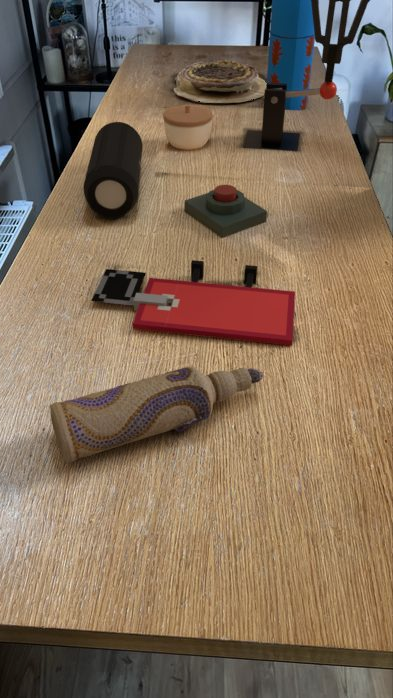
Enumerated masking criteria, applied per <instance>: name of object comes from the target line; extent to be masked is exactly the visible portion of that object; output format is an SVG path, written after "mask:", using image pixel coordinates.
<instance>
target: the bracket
mask: <svg viewBox="0 0 393 698" xmlns="http://www.w3.org/2000/svg"><path fill="white" fill-rule="evenodd" d="M273 88H282V90H280V89H273ZM286 91H287V84H282V83H267V84H266V89H265V93H264V95H263V96H264V97H263V111H262V123H261V124H262V126H261V130H254V129H248V130H247V133H246V135H245V138H244V142H243V145H242V148H243V149H258V150H272V151H273V150H274V151H287V152H288V151H289V152H298V151H299V145H300V138H301V133H300V132H290V131H289V132H288V131H284V127H285V126H284V125H285V117H286V116H285V114H286V113H285V112H286V110H285V105H286V98H285V96H286Z"/></svg>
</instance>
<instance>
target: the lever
mask: <svg viewBox="0 0 393 698" xmlns="http://www.w3.org/2000/svg"><path fill="white" fill-rule="evenodd" d="M273 89H280V90H282V88H273ZM337 93H338V87H337V84H336V83H335V82H334V81H332V82H329V81H328V82H325V81H324V82H323V83H321V85H320V87H318V88H317V87H316V88H309V89H305V90H295V91H286V96H285V98H288V97H298V96H308V97H309V96H317V95H318V96H320V97H321V98H322V99H323V100H326V101H327V100H331V99H333V98H334V97H336V94H337Z"/></svg>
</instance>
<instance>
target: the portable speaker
mask: <svg viewBox="0 0 393 698" xmlns="http://www.w3.org/2000/svg"><path fill="white" fill-rule="evenodd" d="M143 145H144V144H143V140H142V137H141V135H140V134H139V132H138V131H137V129H135V128H134V127H133V126H131V125H130V124H128V123H126V122H123V121H113V122H109V123H107V124H105V125H103V126H102V127H101V128H100V129H99V130H98V132H97V133H96V135H95V137H94V141H93V145H92V150H91V153H90V157H89V161H88V165H87V169H86V173H85V177H84V181H83V189H82V190H83V194H84V199H85V200H86V201H85V202H86V203H87V204H88V206H89V208H90V209H91V210H92V211H93V212H94V214H96V215H98V216H99V217H101V218H104V219H109V220H111V219H112V220H113V219H119V218H122V217H124V216H125V215H127V214H129V213H130V212H131V211H133V209H134V208H135V206H136V205H137V203H138V200H139V196H140V195H139V193H140V192H139V190H140V179H141V178H140V177H141V169H142V157H143V149H144V148H143V147H144V146H143Z"/></svg>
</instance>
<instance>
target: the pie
mask: <svg viewBox="0 0 393 698" xmlns="http://www.w3.org/2000/svg"><path fill="white" fill-rule="evenodd" d="M174 80H175V84H176V86H175V87H174V88H173V89H172V90H173V92H174V93H175V95H176V96H177V97H182V98H185V99H186V100H189V101H192V102H195V103H196V102H197V103H200V104H201V103H202V104H207V103H208V104H209V103H211V104H231V103H243V102H248V101H253V99H254V100H256V99H259V98H261V97H263V96H264V93H265V89H266V84H267V83H266V82H267V81H266V80H264V79H263V78H261V77H259V70H257V69H256V68H255V66H252V65H250V64H247V63H241V62H240V61H234V60H230V59H227V60H226V59H220V60H215V61H209V62H204V61H199V62H194V63H192V64H188V65H186V66H185V67H184V68H183V69H181V71H180V72H178V74H177V76H176V77H174ZM265 81H266V82H265ZM251 99H252V100H251ZM198 101H200V102H198Z"/></svg>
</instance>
